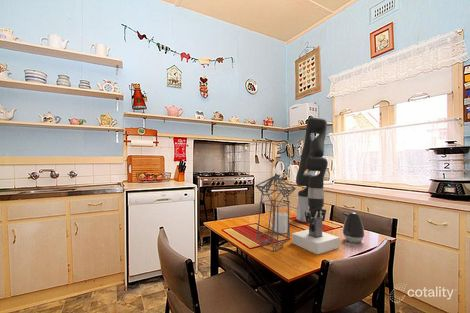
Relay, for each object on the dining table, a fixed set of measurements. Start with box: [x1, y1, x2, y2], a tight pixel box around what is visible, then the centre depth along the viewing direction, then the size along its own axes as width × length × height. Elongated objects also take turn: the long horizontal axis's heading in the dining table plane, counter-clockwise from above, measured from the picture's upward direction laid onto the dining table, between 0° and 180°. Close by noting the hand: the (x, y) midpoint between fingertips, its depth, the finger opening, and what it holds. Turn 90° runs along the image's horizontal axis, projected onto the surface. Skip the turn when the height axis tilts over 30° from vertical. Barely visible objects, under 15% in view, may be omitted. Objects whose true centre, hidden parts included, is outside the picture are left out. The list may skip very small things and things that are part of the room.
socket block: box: [291, 229, 340, 255], centre depth 116 cm, size 16×16×5 cm
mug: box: [267, 211, 288, 235], centre depth 137 cm, size 12×8×10 cm
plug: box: [308, 217, 323, 238], centre depth 116 cm, size 4×4×10 cm
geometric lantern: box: [254, 175, 297, 252], centre depth 112 cm, size 16×16×35 cm
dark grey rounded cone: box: [342, 211, 365, 244], centre depth 123 cm, size 10×10×15 cm
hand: (315, 230), depth 116 cm, fingers closed on plug, 4 cm apart
